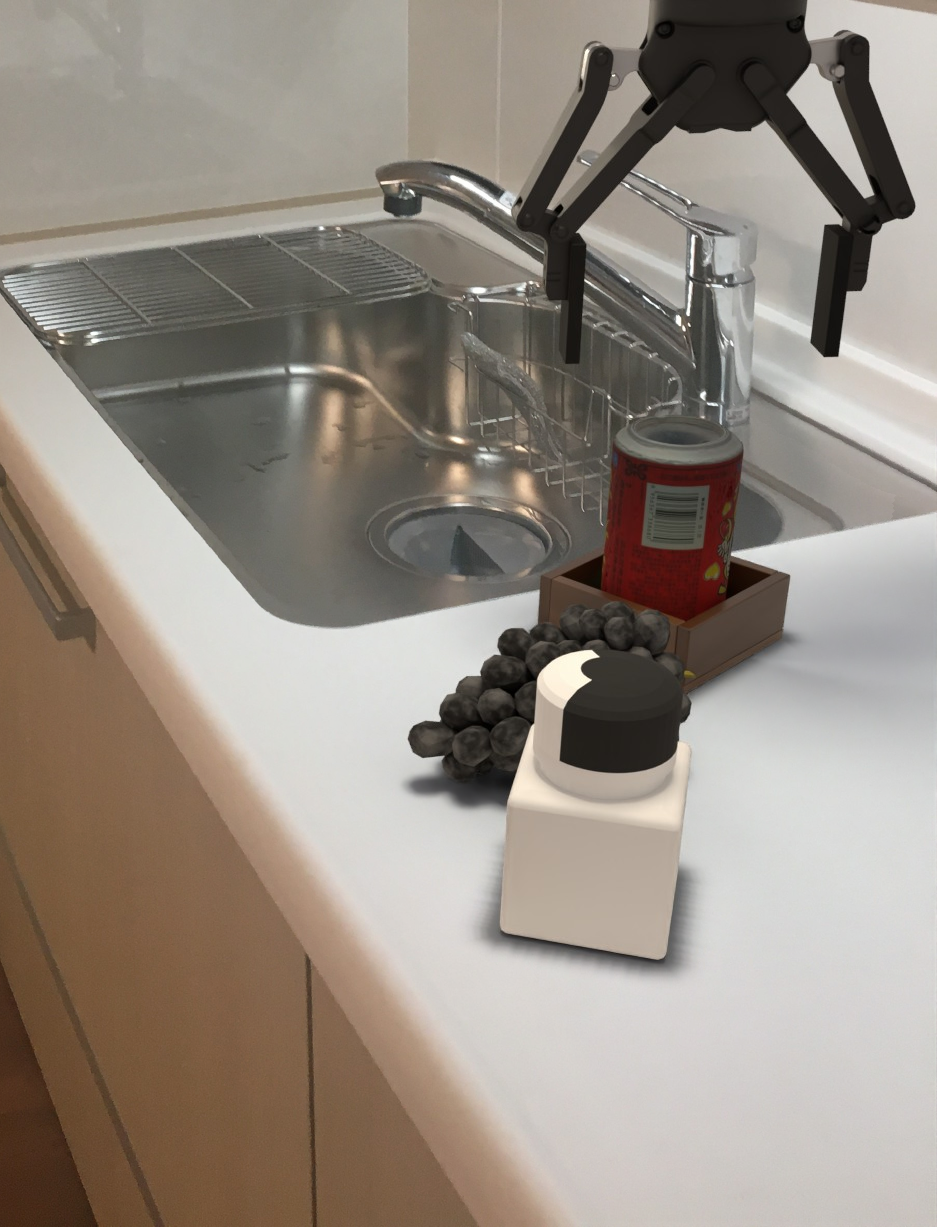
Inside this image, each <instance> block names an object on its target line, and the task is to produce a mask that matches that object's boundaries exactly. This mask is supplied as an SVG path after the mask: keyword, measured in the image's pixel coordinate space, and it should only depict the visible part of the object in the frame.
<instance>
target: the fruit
mask: <svg viewBox="0 0 937 1227" xmlns="http://www.w3.org/2000/svg"><path fill="white" fill-rule="evenodd" d="M559 624H560V627H561V629H562V630H561V629H560V628H559V627H558V626H556V625H554V624H552V623H550V622H545V623H538V622H537V624H536V625H534V626H533V627H532V628H531V629H530V630H529V632H528V631H527V630H526V629H525V628H523V627H511V628H507V629H504V631H503V632H502V633H501V634H500V635H499V636H498V638H497V643H496V644H497V645H496V647H497V650H498V652H499V654H493V655H491V656H490V657H489V658H487V659H485V660H484V661H483V663H482V667H481V668H480V670H479V673H480V675H466V676H465V677H463V678H462V679H460V680H459V681H458V683H457V685H456V687H455V691H454V692H453V693H447V694H446V695H445V697H444V699H443V700H442V701H441V702H440V705H439V710H438V716H439V718H440V720H439V721H436V720H422V721H421V722H418V723H416V724H414V725H413V726H412V727H411V728H410V730H409V731H408V736H407V741H408V744H409V747H410V749H411V752H412V753H413V754H415V755H416V756H418V757H419V758H421V759H429V758H436V757H437V758H438V757H442V759H441V765H442V769H443V771H444V773H445V774H446V776H447V778H449V779H450V780H452V781H455V782H459V783H464V784H466V783H468V782H470V781H471V780H473V779H474V778H475V777H476V776H477V775H480V776H481V775H482V776H484V775H486V774H488V773H490V772H491V771H492V770H493V769H494V767H495V768H496V769H498V770H502V771H507V772H514V773H515V774H516V773H517V770H518V766H519V763H520V760H521V757H522V754H523V750H524V747H525V744H526V741H527V738H528V734H529V731H530V728H531V726H532V725H533V724H534V721H535V707H536V692H537V678H538V676H539V674H540V672H541V671H542V670H543V669H544V668H545V667H546V666H547V665H548V664H549V663H551V662H552V661H553V660H555V659H556V658H558V657H561V656H563V655H566V654H569V653H573V652H578V651H585V650H617V651H624V652H629V653H633V654H637V655H641V656H644V657H647V658H649V659H652V660H654V661H656V662H658V663H660V664H662V665H663V666H665V667H666V668H668V669H669V670H670V671H671V672H672V673H673V674H674V676H675V677H676V678H677V679H678V681H679V682H682V681H683V679H684V677H690V678H696V677H695V675H694V674H693V673H691V672H690V671H685V664H684V662H683V661H682V660H681V659H680V658H679V656H677V655H675V654H674V653H669V652H663V651H664V650H665V649H666V647H667V644H668V641H669V638H670V622H669V618H667V617H666V616H665V615H663V614H662V613H661V612H660V611H658V610H647V609H646V610H645V611H643V612H642V613H641V614H639V615H638V616H637V617H636V618H635V615H634V612H633V609H632V608H631V607H630V606H628V605H627V604H626V603H625V602H618V601H615V602H611V603H608V604H605V605H604V606H603V607H602V609H601V610H599V609H598V608H597V609H590V608H589V607H587V606H585V605H583V604H577V605H570V606H569V607H567V608H566V609H565V610H563V611H562V613H561V616H560V618H559ZM692 704H693V702H692V701H691V699H690V697H689V695H688V693H684V692H683V702H682V711H681V720H680V724H683V723H686V721H687V719H688V718H689V717H690V715H691V709H692ZM678 741H679V742H680V736H679V737H678Z"/></svg>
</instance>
